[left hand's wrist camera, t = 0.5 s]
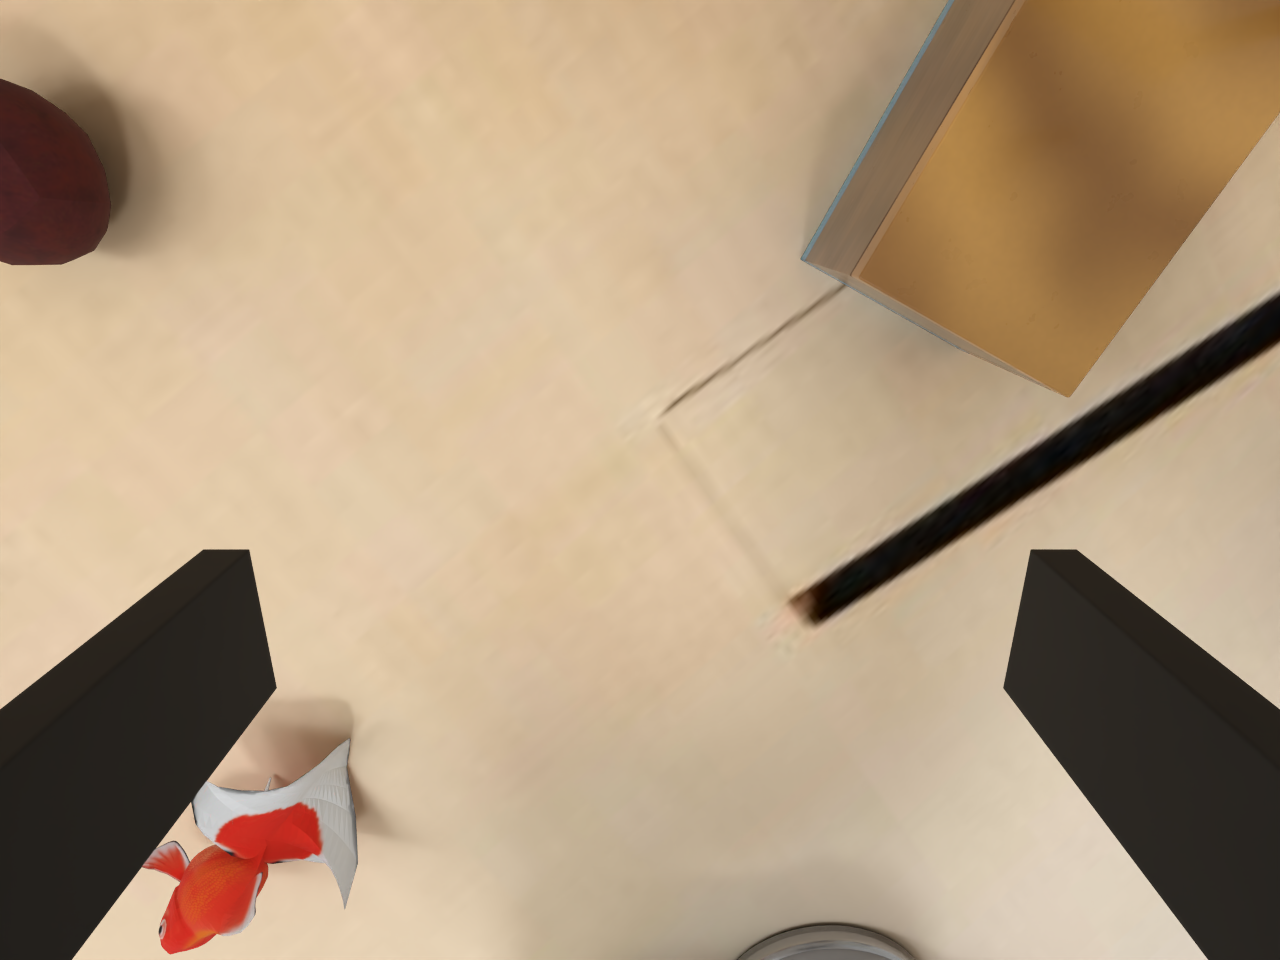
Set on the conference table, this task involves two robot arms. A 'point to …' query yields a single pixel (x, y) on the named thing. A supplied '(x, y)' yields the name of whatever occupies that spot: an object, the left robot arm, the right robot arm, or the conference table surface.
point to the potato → (47, 183)
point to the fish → (256, 849)
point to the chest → (906, 151)
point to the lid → (1076, 172)
